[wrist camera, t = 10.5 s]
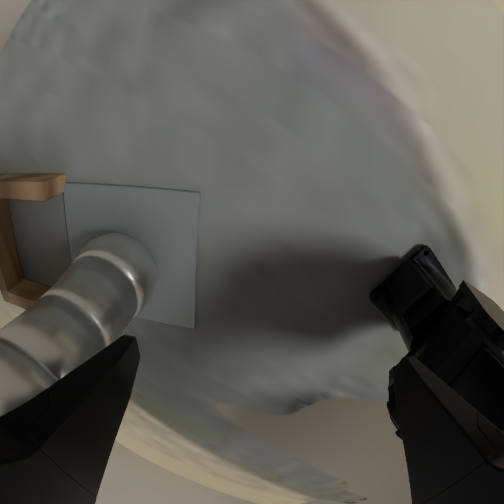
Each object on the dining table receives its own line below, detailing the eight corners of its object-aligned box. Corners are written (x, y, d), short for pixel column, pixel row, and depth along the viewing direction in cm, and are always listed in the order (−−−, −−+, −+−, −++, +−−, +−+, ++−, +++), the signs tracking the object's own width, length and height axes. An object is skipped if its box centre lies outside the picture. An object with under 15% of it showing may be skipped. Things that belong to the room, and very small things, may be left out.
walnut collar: (65, 173, 20) (43, 182, 17) (83, 307, 25) (69, 324, 23) (-2, 174, 20) (-22, 182, 17) (18, 287, 26) (4, 300, 23)
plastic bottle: (84, 233, 21) (-88, 404, 3) (150, 214, 20) (-57, 451, 2) (112, 298, 24) (-6, 485, 6) (177, 289, 23) (69, 536, 5)
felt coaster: (200, 191, 20) (198, 193, 20) (195, 326, 25) (194, 329, 25) (65, 182, 20) (63, 183, 20) (82, 301, 25) (80, 303, 25)
